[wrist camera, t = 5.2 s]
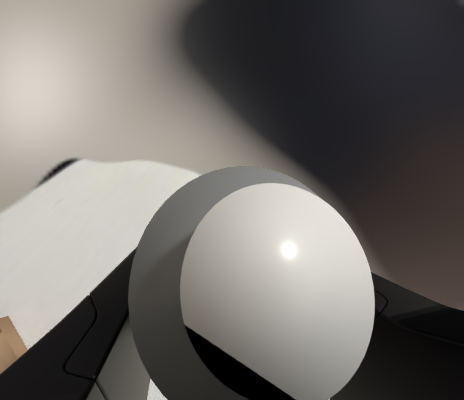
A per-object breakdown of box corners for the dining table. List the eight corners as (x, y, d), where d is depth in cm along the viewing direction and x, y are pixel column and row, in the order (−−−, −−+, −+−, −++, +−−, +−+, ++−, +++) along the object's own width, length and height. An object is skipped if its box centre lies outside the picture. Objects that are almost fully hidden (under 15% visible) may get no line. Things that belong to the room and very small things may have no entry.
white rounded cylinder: (243, 253, 15) (435, 221, 3) (217, 307, 13) (404, 625, 2) (197, 226, 15) (223, 92, 3) (165, 277, 13) (-23, 394, 2)
